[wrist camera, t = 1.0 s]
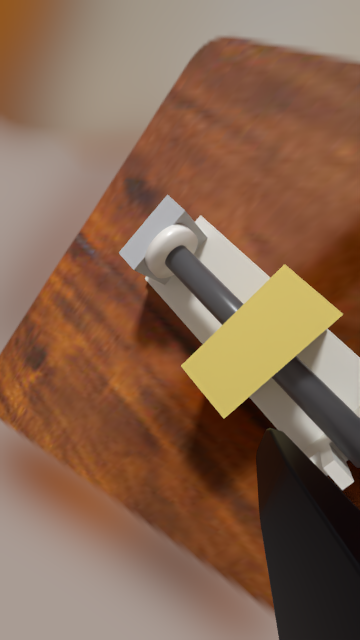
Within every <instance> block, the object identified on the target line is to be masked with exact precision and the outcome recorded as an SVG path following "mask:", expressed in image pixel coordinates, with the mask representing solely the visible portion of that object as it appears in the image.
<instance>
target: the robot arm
mask: <svg viewBox="0 0 360 640" xmlns="http://www.w3.org/2000/svg"><path fill="white" fill-rule="evenodd" d="M256 464H257V481H258V498H259V513H260V522H261V529H262V535H263V541H264V548H265V554H266V560H267V566H268V572H269V579H270V585H271V591H272V597H273V604H274V610H275V616H276V622H277V628H278V635H279V640H360V510H359V509H358V508H357V507H356V506H355V505H354V504H353V503H352V502H351V501H350V500H349V499H348V498H347V497H346V496H345V495H344V494H343V492H342V491H341V490H340V489H339V488H338V487H337V486H336V485H335V484H334V483H333V482H332V481H331V480H330V479H329V478H328V477H327V476H326V475H325V474H324V473H323V472H322V471H321V470H320V469H319V468H318V467H317V466H316V465H315V464H314V463H313V462H312V461H311V460H310V459H309V458H308V457H307V456H306V455H305V454H304V453H303V451H302V450H301V449H300V448H299V447H298V446H297V445H296V444H295V443H294V442H293V441H292V440H291V439H290V438H289V437H288V436H287V435H286V434H285V433H284V432H283V431H280V430H276V429H272V428H269V429H267V430H266V431H265V433H264V436H263V438H262V440H261V443H260V445H259V448H258V450H257V455H256Z"/></svg>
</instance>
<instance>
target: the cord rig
mask: <svg viewBox="0 0 360 640" xmlns="http://www.w3.org/2000/svg"><path fill="white" fill-rule="evenodd" d="M119 254H120V255H121V256H122V257H123V258H124V259H125V261H126V262H127V263H128V264H129V265H130V266H131V267H132V269H133V270H135V271H137V272H139V273H141V274H143V275H145V276H146V277H145V279H146V281H147V282H148V283H149V284H150V285H151V286H152V287H153V289H154V290H155V291H156V292H157V293H158V294H159V295H160V296H161V298H162V299H163V300H164V301H165V302H166V303H167V304H168V306H169V307H170V308H171V309H172V310H173V311H174V312H175V313H176V315H177V316H178V317H179V318H180V319H181V320H182V321H183V323H184V324H185V325H186V326H187V327H188V328H189V329H190V331H191V332H192V333H193V334H194V335H195V336H196V337H197V338H198V340H199V341H200V342H201V343H202V344H204V343H205V342H206V341H207V340H208V339H209V338H210V337H211V336H212V335H213V334H214V333H215V332H216V331H217V330H218V329H219V328H220V327H221V326H222V325H223V324H224V323H225V322H226V321H227V320H228V319H229V318H230V317H231V316H232V315H233V314H234V313H235V312H236V311H237V310H238V309H239V308H240V307H241V306H242V305H243V304H245V303H246V302H247V301H248V300H249V299H250V298H251V297H252V296H253V295H254V294H255V293H256V292H257V291H258V290H259V289H260V288H261V287H262V286H263V285H264V284H265V283H266V282H267V281H268V280H269V279H270V277H269V276H268V275H267V274H266V273H265V272H263V271H262V270H261V269H260V268H259V267H258V266H257V265H256V264H255V263H253V262H252V261H251V260H250V259H249V258H248V257H247V256H246V255H244V254H243V253H242V252H241V251H240V250H239V249H238V248H237V247H236V246H234V245H233V244H232V243H231V242H230V241H229V240H228V239H227V238H225V237H224V236H223V235H222V234H221V233H220V232H219V231H218V230H217V229H215V228H214V227H213V226H212V225H211V224H210V223H209V222H208V221H206V220H205V219H204V218H203V217H202V216H201V215H200V217H199V218H198V219H197V220H196V221H195V222H194V221H193V220H192V218H191V217H190V216H189V215H188V214H187V212H186V211H185V210H184V209H183V208H182V207H181V206H179V205H178V204H177V203H176V202H175V201H174V200H173V199H172V198H171V197H170V196H169V195H167V196H166V197H165V198H164V199H163V201H162V202H161V203H160V204H159V205H158V207H157V208H156V209H155V210H154V211H153V213H152V214H151V215H150V216H149V217H148V218H147V220H146V221H145V222H144V223H143V224H142V226H141V227H140V228H139V229H138V230H137V232H136V233H135V234H134V235H133V236H132V238H131V239H130V240H129V241H128V242H127V243H126V245H125V246H124V247H123V248H122V249H121V251H120V252H119ZM249 398H250V399H251V400H252V401H253V402H254V403H255V404H256V405H257V407H258V408H259V409H260V410H261V411H262V412H263V413H264V415H265V416H266V417H267V418H268V419H269V420H270V421H271V422H272V424H273V425H274V426H275V427H276V428H277V429H278V430H280V431H283V432H284V433H285V434H286V435H287V436H288V437H289V438H290V439H291V440H292V441H293V442H294V443H295V444H296V445H297V446H298V447H299V448H300V449H301V450H302V451H303V453H304V454H305V455H306V456H307V457H308V458H309V459H310V460H311V461H312V462H313V463H314V464H315V465H316V466H317V467H318V468H319V469H320V470H321V471H322V472H323V473H324V474H325V475H326V476H327V475H329V476H330V477H331V478H332V479H333V480H334V482H335V483H336V484H337V485H338V486H339V487H340V488H341V489H342V490H343V489H345V488H346V487H348V486H349V485H350V484H352V483H353V482H354V480H353V477H352V475H351V472H350V470H349V467H348V465H347V463H346V461H348V460H350V461H351V462H352V463H353V464H354V465H355V467H357V468H360V358H359V357H358V356H357V355H356V354H355V353H354V352H353V351H352V350H351V349H349V348H348V347H347V346H346V345H345V344H344V343H343V342H342V341H340V340H339V339H338V338H337V337H336V336H335V335H334V334H333V333H332V332H330V331H329V330H328V329H326V330H325V331H324V332H323V333H321V334H320V335H319V336H318V337H317V338H316V339H315V340H313V341H312V342H311V343H310V344H309V345H308V346H307V347H305V348H304V349H303V350H302V351H301V352H300V353H299V354H297V355H296V356H295V357H294V358H293V359H292V360H291V361H290V362H288V363H287V364H286V365H285V366H284V367H283V368H282V369H280V370H279V371H278V372H277V373H276V374H275V375H274V376H272V377H271V378H270V379H269V380H268V381H267V382H266V383H264V384H263V385H262V386H261V387H260V388H259V389H258V390H256V391H255V392H254V393H253V394H252V395H251V396H250V397H249Z"/></svg>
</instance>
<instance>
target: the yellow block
mask: <svg viewBox="0 0 360 640" xmlns="http://www.w3.org/2000/svg"><path fill="white" fill-rule="evenodd" d="M342 315H343V313H341V312H340V311H339V310H338V309H337V308H335V307H334V306H333V305H332V304H331V303H330V302H328V301H327V300H326V299H325V298H324V297H323V296H321V295H320V294H319V293H318V292H317V291H316V290H314V289H313V288H312V287H311V286H310V285H309V284H307V283H306V282H305V281H304V280H303V279H301V278H300V277H299V276H298V275H297V274H296V273H294V272H293V271H292V270H291V269H290V268H289V267H287V266H286V265H285V264H284V265H283V266H282V267H281V268H280V269H279V270H278V271H277V272H276V273H275V274H274V275H273V276H272V277H271V278H270V279H269V280H268V281H267V282H266V283H265V284H264V285H263V286H262V287H261V288H260V289H259V290H258V291H257V292H256V293H255V294H254V295H253V296H252V297H251V298H250V299H249V300H248V301H247V302H246V303H245V304H243V305H242V306H241V307H240V308H239V309H238V310H237V311H236V312H235V313H234V314H233V315H232V316H231V317H230V318H229V319H228V320H227V321H226V322H225V323H224V324H223V325H222V326H221V327H220V328H219V329H218V330H217V331H216V332H215V333H214V334H213V335H212V336H211V337H210V338H209V339H208V340H207V341H206V342H205V343H204V344H203V345H202V346H201V347H200V348H199V349H198V350H197V351H196V352H194V353H193V354H192V355H191V356H190V357H189V358H188V359H187V360H186V361H185V362H184V363H183V364H182V365H181V367H182V368H183V369H184V371H185V372H186V373H187V374H188V376H189V377H190V378H191V379H192V380H193V382H194V383H195V384H196V385H197V387H198V388H199V389H200V390H201V391H202V393H203V394H204V395H205V396H206V398H207V399H208V400H209V401H210V403H211V404H212V405H213V406H214V407H215V409H216V410H217V411H218V412H219V414H220V415H221V416H222V417H223V418H226V417H227V416H228V415H229V414H230V413H231V412H232V411H234V410H235V409H236V408H237V407H238V406H239V405H240V404H242V403H243V402H244V401H245V400H246V399H247V398H248V397H250V396H251V395H252V394H253V393H254V392H255V391H256V390H258V389H259V388H260V387H261V386H262V385H263V384H264V383H266V382H267V381H268V380H269V379H270V378H271V377H272V376H274V375H275V374H276V373H277V372H278V371H279V370H280V369H282V368H283V367H284V366H285V365H286V364H287V363H288V362H290V361H291V360H292V359H293V358H294V357H295V356H296V355H297V354H299V353H300V352H301V351H302V350H303V349H304V348H305V347H307V346H308V345H309V344H310V343H311V342H312V341H313V340H315V339H316V338H317V337H318V336H319V335H320V334H321V333H323V332H324V331H325V330H326V329H327V328H328V327H329V326H331V325H332V324H333V323H334V322H335V321H336V320H337V319H339V318H340V317H341V316H342Z"/></svg>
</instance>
